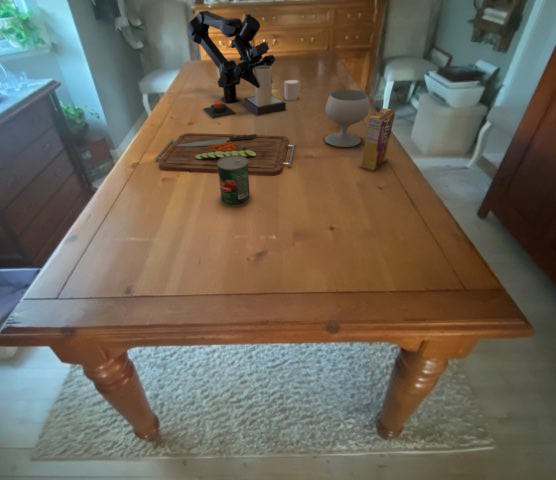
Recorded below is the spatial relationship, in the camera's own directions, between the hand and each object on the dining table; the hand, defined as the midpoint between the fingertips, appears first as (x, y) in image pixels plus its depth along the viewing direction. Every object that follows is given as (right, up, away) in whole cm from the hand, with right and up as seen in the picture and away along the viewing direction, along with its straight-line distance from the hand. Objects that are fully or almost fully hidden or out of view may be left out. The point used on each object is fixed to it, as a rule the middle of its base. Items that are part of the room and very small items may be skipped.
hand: (265, 85), depth 139 cm
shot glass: (+12, +4, +19) cm, 23 cm away
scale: (0, -4, +11) cm, 11 cm away
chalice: (+27, -29, -17) cm, 43 cm away
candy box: (+33, -41, -31) cm, 61 cm away
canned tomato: (-10, -54, -43) cm, 70 cm away
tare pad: (-20, -7, +9) cm, 22 cm away
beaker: (-1, -4, +5) cm, 7 cm away
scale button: (-20, -5, +7) cm, 22 cm away
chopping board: (-14, -35, -22) cm, 43 cm away
